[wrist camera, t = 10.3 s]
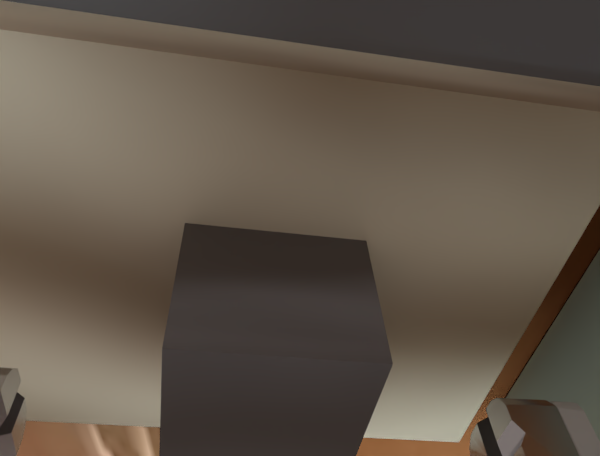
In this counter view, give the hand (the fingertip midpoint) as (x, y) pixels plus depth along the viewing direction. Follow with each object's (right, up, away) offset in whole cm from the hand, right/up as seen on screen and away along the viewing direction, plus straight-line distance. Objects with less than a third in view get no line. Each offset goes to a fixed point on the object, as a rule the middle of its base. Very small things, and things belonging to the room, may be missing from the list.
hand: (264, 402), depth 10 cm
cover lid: (0, +2, +3) cm, 4 cm away
